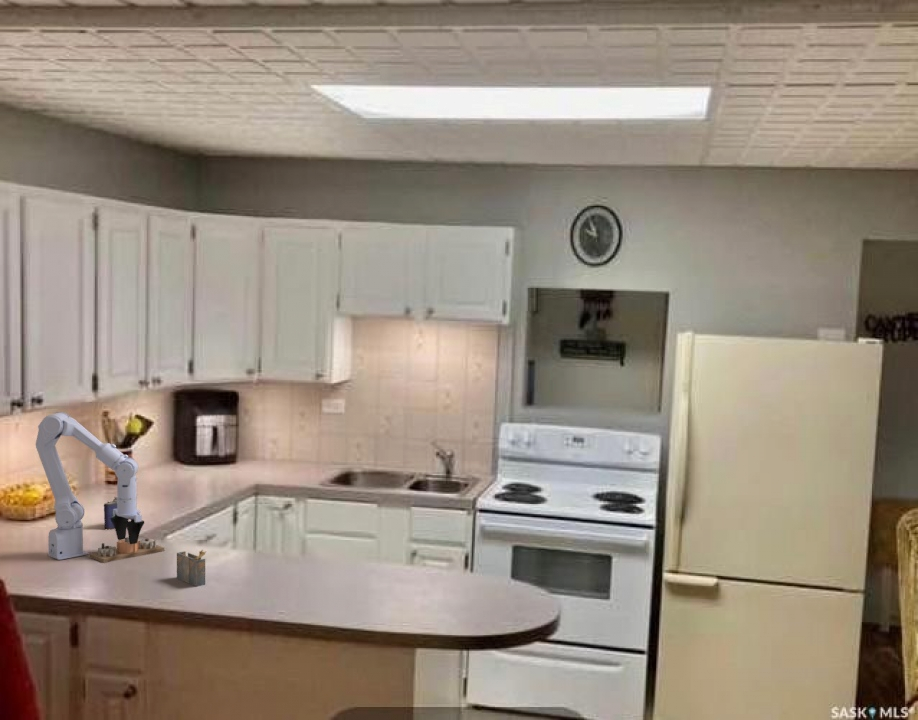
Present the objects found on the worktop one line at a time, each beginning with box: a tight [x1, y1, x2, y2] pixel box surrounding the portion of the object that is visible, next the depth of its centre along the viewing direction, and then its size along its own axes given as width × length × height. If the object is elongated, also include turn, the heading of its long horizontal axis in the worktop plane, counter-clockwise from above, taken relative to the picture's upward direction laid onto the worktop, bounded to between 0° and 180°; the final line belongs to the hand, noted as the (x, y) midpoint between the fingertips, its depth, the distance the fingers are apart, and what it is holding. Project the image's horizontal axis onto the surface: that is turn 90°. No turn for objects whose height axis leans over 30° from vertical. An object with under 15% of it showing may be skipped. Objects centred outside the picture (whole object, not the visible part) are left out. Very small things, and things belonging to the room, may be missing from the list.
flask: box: [103, 496, 117, 531], centre depth 330 cm, size 9×3×11 cm, turn 152°
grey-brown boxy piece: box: [176, 549, 206, 587], centre depth 266 cm, size 11×3×10 cm, turn 44°
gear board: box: [89, 537, 165, 563], centre depth 294 cm, size 20×9×5 cm, turn 137°
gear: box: [116, 539, 139, 553], centre depth 294 cm, size 6×6×3 cm
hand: (127, 541), depth 294 cm, fingers open, 7 cm apart
